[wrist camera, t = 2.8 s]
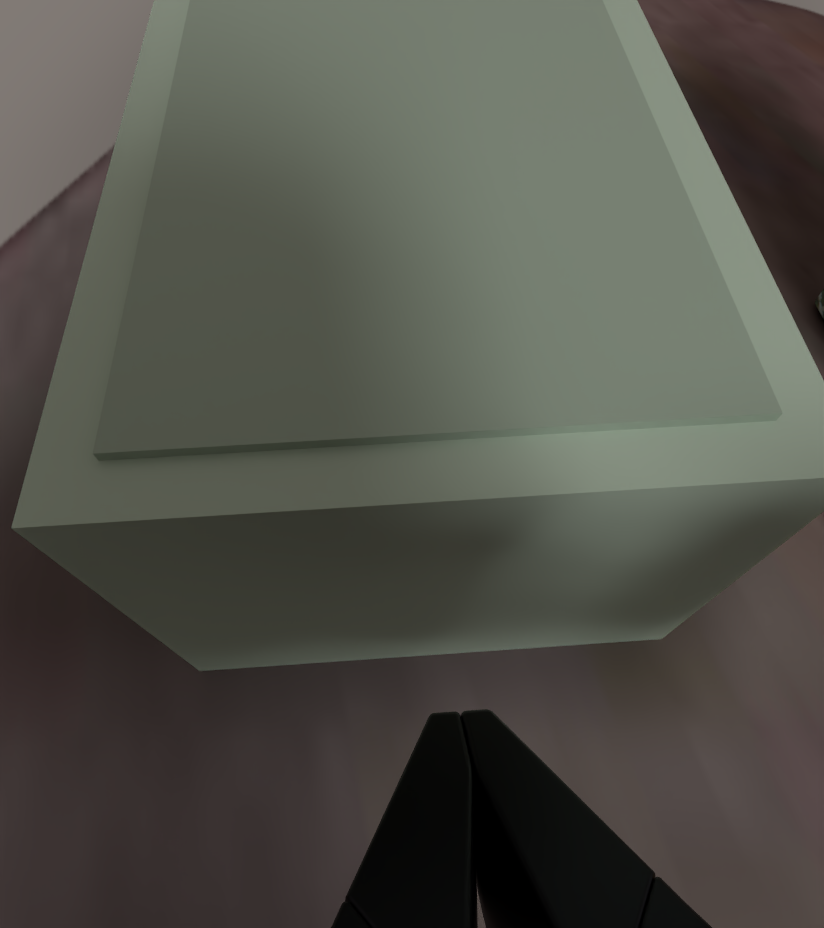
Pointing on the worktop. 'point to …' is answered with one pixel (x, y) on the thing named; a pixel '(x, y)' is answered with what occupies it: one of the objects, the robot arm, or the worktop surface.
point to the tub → (417, 342)
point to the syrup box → (820, 303)
